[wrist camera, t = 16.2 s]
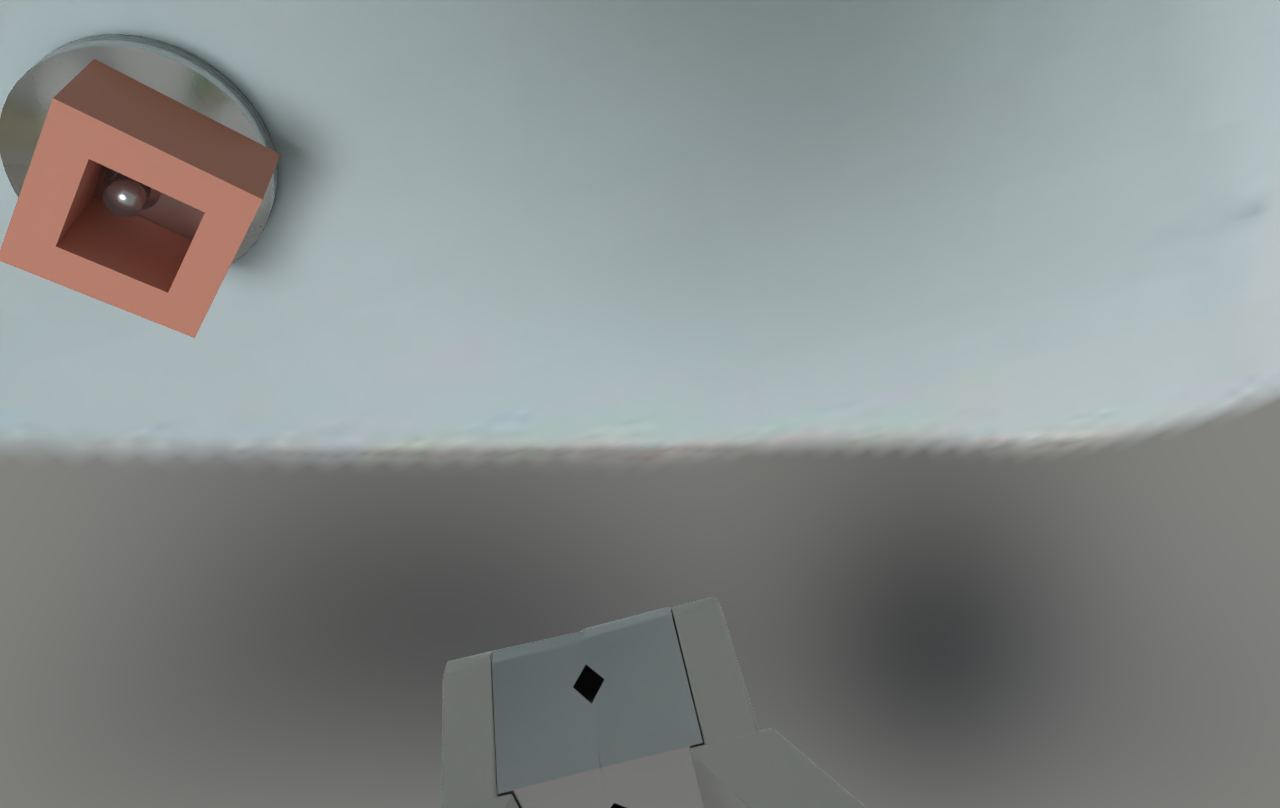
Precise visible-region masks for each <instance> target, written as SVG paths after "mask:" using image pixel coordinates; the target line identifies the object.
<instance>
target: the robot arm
mask: <svg viewBox="0 0 1280 808" xmlns="http://www.w3.org/2000/svg"><path fill="white" fill-rule="evenodd" d="M671 613H672V614H671ZM672 617H673V618H672ZM442 728H443V729H442V808H867V807H865V806H864V805H863V804H862V803H861V802H859V801H858V800H857V799H856V798H855V797H854V796H852V795H851V794H850V793H849V792H848V791H846V790H845V789H844V788H843V787H842V786H841V785H839V784H838V783H837V782H836V781H835V780H834V779H832V778H831V777H830V776H829V775H827V774H826V773H825V772H824V771H823V770H822V769H820V768H819V767H818V766H817V765H816V764H815V763H813V762H812V761H811V760H810V759H809V758H808V757H806V756H805V755H804V754H803V753H802V752H801V751H799V750H798V749H797V748H796V747H795V746H794V745H792V744H791V743H790V742H789V741H788V740H786V739H785V738H784V737H783V736H781V734H779V733H778V732H777V731H776V730H775V729H774V728H771V729H766V730H761V731H759V729H758V726H757V723H756V719H755V716H754V713H753V709H752V707H751V703H750V700H749V696H748V693H747V690H746V687H745V683H744V680H743V677H742V674H741V670H740V667H739V664H738V661H737V658H736V654H735V651H734V648H733V645H732V641H731V638H730V634H729V632H728V628H727V625H726V621H725V618H724V615H723V612H722V608H721V605H720V603H719V602H718V600H717V599H716V597H710V598H706V599H703V600H699V601H695V602H691V603H687V604H683V605H680V606H676V607H672V608H671V610H670V607H666V608H662V609H658V610H655V611H651V612H647V613H643V614H639V615H636V616H631V617H628V618H624V619H620V620H616V621H612V622H608V623H605V624H601V625H597V626H593V627H589V628H585V629H583V631H581V632H577V633H572V634H567V635H563V636H558V637H554V638H549V639H545V640H540V641H536V642H531V643H527V644H523V645H518V646H513V647H509V648H504V649H500V650H496V651H490V652H486V653H482V654H477V655H473V656H469V657H465V658H461V659H457V660H452V661H448V662H447V665H446V668H445V672H444V676H443V726H442Z"/></svg>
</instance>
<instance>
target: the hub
mask: <svg viewBox="0 0 1280 808" xmlns="http://www.w3.org/2000/svg"><path fill="white" fill-rule="evenodd" d="M93 59H96V60H98V61H99V62H101V63H103V64H105V65H107V66H109V67H111V68H113V69H115V70H117V71H119V72H121V73H123V74H125V75H127V76H129V77H131V78H133V79H135V80H137V81H139V82H140V83H142V84H144V85H146V86H148V87H150V88H152V89H154V90H156V91H158V92H160V93H162V94H164V95H166V96H168V97H170V98H172V99H174V100H176V101H178V102H179V103H181V104H183V105H185V106H187V107H189V108H191V109H193V110H195V111H197V112H199V113H201V114H203V115H205V116H207V117H209V118H211V119H213V120H215V121H217V122H219V123H220V124H222V125H224V126H226V127H228V128H230V129H232V130H234V131H236V132H238V133H240V134H242V135H244V136H246V137H248V138H250V139H252V140H254V141H256V142H258V143H259V144H261V145H263V146H265V147H267V148H269V149H271V150H273V151H274V148H273V145H272V142H271V139H270V136H269V134H268V131H267V129H266V127H265V126H264V124H263V122H262V120H261V118H260V116H259V115H258V113H257V112H256V110H255V109H254V107H253V106H252V104H251V103H250V102H249V101H248V100H247V98H246V97H245V96H244V95H243V94H242V93H241V91H240V90H239V89H238V88H237V87H236V86H235V85H234V84H232V83H231V82H230V81H229V80H228V79H227V78H226V77H225V76H224V75H222V74H221V73H220V72H218V71H217V70H216V69H214V68H213V67H212V66H210V65H209V64H207V63H206V62H204V61H202V60H201V59H199V58H197V57H196V56H194V55H192V54H190V53H188V52H186V51H183V50H181V49H179V48H177V47H174V46H171V45H169V44H166V43H163V42H160V41H156V40H152V39H148V38H143V37H138V36H129V35H100V36H93V37H87V38H83V39H80V40H76V41H73V42H70V43H68V44H66V45H64V46H62V47H60V48H58V49H56V50H54V51H53V52H51V53H50V54H49V55H47V56H46V57H44V58H43V59H42V60H41V61H39V62H38V63H37V64H36V65H35V66H33V67H32V68H31V69H30V70H29V71H28V72H27V73H26V74H25V75H24V76H23V77H22V78H21V79H20V80H19V81H18V82H17V83H16V84H15V86H14V87H13V89H12V90H11V92H10V93H9V95H8V97H7V100H6V102H5V104H4V107H3V109H2V114H1V118H0V153H1V158H2V161H3V165H4V168H5V171H6V174H7V176H8V178H9V181H10V183H11V185H12V187H13V189H14V191H15V192H16V194H17V196H18V198H19V195H20V192H21V189H22V186H23V183H24V180H25V178H26V175H27V172H28V169H29V166H30V163H31V160H32V157H33V154H34V151H35V148H36V146H37V143H38V140H39V137H40V134H41V131H42V128H43V125H44V122H45V119H46V117H47V114H48V111H49V108H50V105H51V102H52V99H53V98H54V97H55V96H56V95H57V94H58V93H59V92H60V91H61V90H62V89H63V88H64V87H65V86H66V85H67V84H68V83H69V82H70V81H71V80H72V79H73V78H74V77H76V76H77V75H78V74H79V73H80V72H81V71H82V70H83V69H84V68H85V67H86V66H87V65H88V64H89V63H90V62H91V61H92V60H93ZM277 179H278V172H277V164H276V167H275V169H274V172H273V174H272V177H271V180H270V182H269V185H268V187H267V190H266V192H265V195H264V198H263V200H262V202H261V204H260V206H259V208H258V210H257V212H256V214H255V216H254V218H253V220H252V222H251V224H250V226H249V228H248V231H247V233H246V235H245V237H244V239H243V241H242V243H241V245H240V247H239V249H238V251H237V253H236V255H235V257H234V259H233V261H232V263H234V262H235V261H237V260H238V259H239V258H241V257H242V256H243V255H244V254H245V253H247V252H248V251H249V249H250V248H251V247H252V246H253V245H254V244H255V242H256V241H257V239H258V238H259V236H260V235H261V233H262V231H263V229H264V227H265V224H266V222H267V219H268V217H269V214H270V211H271V208H272V206H273V203H274V199H275V195H276V190H277ZM93 196H94V197H96V198H98V199H101V200H103V201H104V203H105V205H106V207H107V208H108V209H109V210H110V211H111V212H113V213H114V214H116V215H119V216H123V217H132V216H134V215H136V216H139V217H141V218H143V219H145V220H148V221H150V222H152V223H154V224H157V225H159V226H161V227H163V228H166V229H168V230H170V231H172V232H175V233H177V234H179V235H181V236H184V237H186V238H188V239H190V240H193V238H194V236H195V233H196V231H197V229H198V227H199V225H200V223H201V220H202V218H203V216H204V214H205V212H203V211H200V210H198V209H196V208H194V207H192V206H190V205H187V204H185V203H183V202H181V201H179V200H177V199H174V198H172V197H170V196H168V195H166V194H164V193H162V192H159V191H157V190H155V189H153V188H151V187H149V186H146V185H144V184H142V183H140V182H138V181H136V180H133V179H131V178H129V177H127V176H125V175H123V174H120V173H118V172H116V171H114V170H112V169H110V168H107V167H104V170H103V172H102V175H101V177H100V180H99V183H98V185H97V188H96V190H95V193H94V195H93ZM232 263H231V264H232Z"/></svg>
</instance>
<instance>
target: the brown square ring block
mask: <svg viewBox="0 0 1280 808" xmlns="http://www.w3.org/2000/svg"><path fill="white" fill-rule="evenodd" d="M279 157H280V154H279V153H277V152H275V151H273V150H271V149H269V148H267V147H265V146H263V145H261V144H259V143H258V142H256V141H254V140H252V139H250V138H248V137H246V136H244V135H242V134H240V133H238V132H236V131H234V130H232V129H230V128H228V127H226V126H224V125H222V124H220V123H219V122H217V121H215V120H213V119H211V118H209V117H207V116H205V115H203V114H201V113H199V112H197V111H195V110H193V109H191V108H189V107H187V106H185V105H183V104H181V103H179V102H178V101H176V100H174V99H172V98H170V97H168V96H166V95H164V94H162V93H160V92H158V91H156V90H154V89H152V88H150V87H148V86H146V85H144V84H142V83H140V82H139V81H137V80H135V79H133V78H131V77H129V76H127V75H125V74H123V73H121V72H119V71H117V70H115V69H113V68H111V67H109V66H107V65H105V64H103V63H101V62H99V61H98V60H96V59H93V60H92V61H91V62H90V63H89V64H88V65H87V66H86V67H85V68H84V69H83V70H82V71H81V72H80V73H79V74H78V75H77V76H76V77H74V78H73V79H72V80H71V81H70V82H69V83H68V84H67V85H66V86H65V87H64V88H63V89H62V90H61V91H60V92H59V93H58V94H57V95H56V96H55V97H54V98H53V99H52V102H51V105H50V108H49V111H48V114H47V117H46V119H45V122H44V125H43V128H42V131H41V134H40V137H39V140H38V143H37V146H36V148H35V151H34V154H33V157H32V160H31V163H30V166H29V169H28V172H27V175H26V178H25V180H24V183H23V186H22V189H21V192H20V195H19V198H18V201H17V204H16V207H15V209H14V212H13V215H12V218H11V221H10V224H9V227H8V230H7V233H6V236H5V238H4V241H3V244H2V247H1V250H0V261H2V262H4V263H7V264H10V265H12V266H15V267H17V268H20V269H22V270H25V271H27V272H30V273H32V274H35V275H37V276H40V277H42V278H45V279H47V280H50V281H52V282H55V283H58V284H60V285H63V286H65V287H68V288H70V289H73V290H75V291H78V292H80V293H83V294H85V295H88V296H90V297H93V298H95V299H98V300H100V301H103V302H105V303H108V304H111V305H113V306H116V307H118V308H121V309H123V310H126V311H128V312H131V313H133V314H136V315H138V316H141V317H143V318H146V319H148V320H151V321H153V322H156V323H159V324H161V325H164V326H166V327H169V328H171V329H174V330H176V331H179V332H181V333H184V334H186V335H189V336H191V337H194V338H195V336H196V334H197V332H198V330H199V328H200V326H201V324H202V322H203V320H204V318H205V316H206V314H207V312H208V310H209V308H210V306H211V304H212V302H213V300H214V298H215V296H216V294H217V291H218V289H219V287H220V285H221V283H222V281H223V279H224V277H225V275H226V273H227V271H228V269H229V267H230V265H231V263H232V261H233V259H234V257H235V255H236V253H237V251H238V249H239V247H240V245H241V243H242V241H243V239H244V237H245V235H246V233H247V231H248V228H249V226H250V224H251V222H252V220H253V218H254V216H255V214H256V212H257V210H258V208H259V206H260V204H261V202H262V200H263V198H264V195H265V192H266V190H267V187H268V185H269V182H270V180H271V177H272V174H273V172H274V169H275V167H276V164H277V162H278V159H279ZM104 167H107V168H110V169H112V170H114V171H116V172H118V173H120V174H123V175H125V176H127V177H129V178H131V179H133V180H136V181H138V182H140V183H142V184H144V185H146V186H149V187H151V188H153V189H155V190H157V191H159V192H162V193H164V194H166V195H168V196H170V197H172V198H174V199H177V200H179V201H181V202H183V203H185V204H187V205H190V206H192V207H194V208H196V209H198V210H200V211H203V212H205V214H204V216H203V218H202V220H201V223H200V225H199V227H198V229H197V231H196V233H195V236H194V238H193V240H190V239H188V238H186V237H184V236H181V235H179V234H177V233H175V232H172V231H170V230H168V229H166V228H163V227H161V226H159V225H157V224H154V223H152V222H150V221H148V220H145V219H143V218H141V217H139V216H136V215H134V216H132V217H123V216H119V215H116V214H114V213H113V212H111V211H110V210H109V209H108V208H107V207H106V205H105V203H104V201H103V200H101V199H98V198H96V197H94V196H93V195H94V193H95V190H96V188H97V185H98V183H99V180H100V177H101V175H102V172H103V170H104Z"/></svg>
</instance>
